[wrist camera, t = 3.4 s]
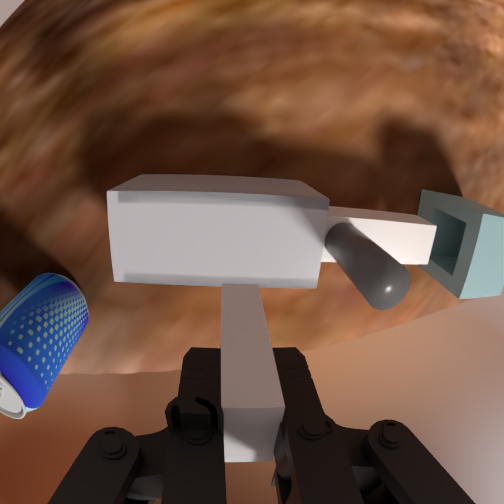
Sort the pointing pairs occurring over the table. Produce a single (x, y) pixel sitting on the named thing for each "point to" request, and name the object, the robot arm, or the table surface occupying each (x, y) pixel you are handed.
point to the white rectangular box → (216, 230)
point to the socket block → (464, 245)
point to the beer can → (38, 340)
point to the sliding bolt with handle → (377, 250)
